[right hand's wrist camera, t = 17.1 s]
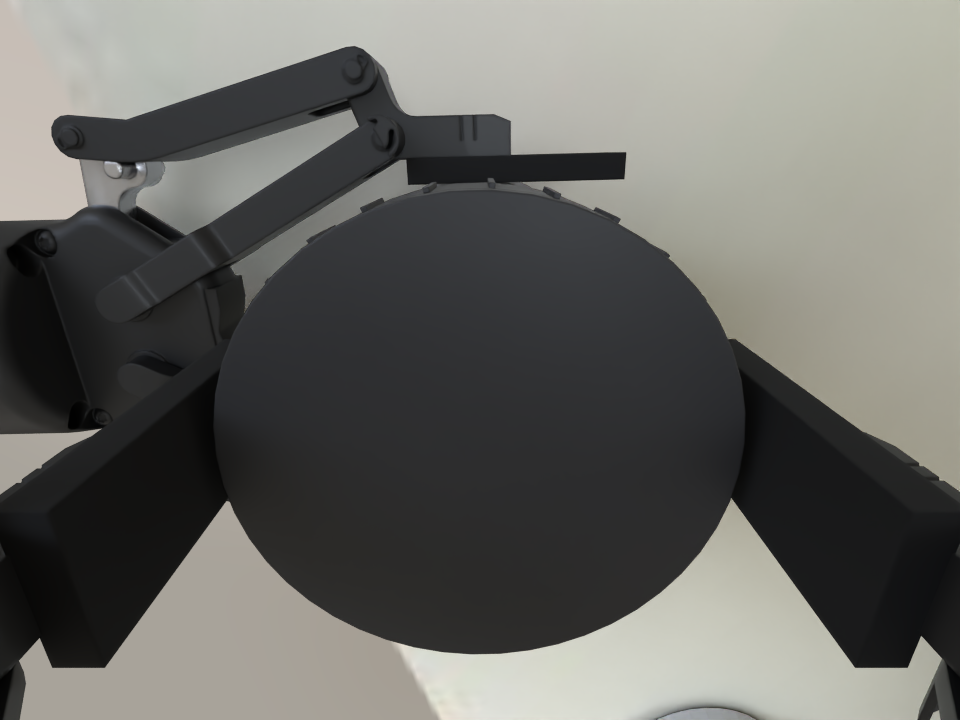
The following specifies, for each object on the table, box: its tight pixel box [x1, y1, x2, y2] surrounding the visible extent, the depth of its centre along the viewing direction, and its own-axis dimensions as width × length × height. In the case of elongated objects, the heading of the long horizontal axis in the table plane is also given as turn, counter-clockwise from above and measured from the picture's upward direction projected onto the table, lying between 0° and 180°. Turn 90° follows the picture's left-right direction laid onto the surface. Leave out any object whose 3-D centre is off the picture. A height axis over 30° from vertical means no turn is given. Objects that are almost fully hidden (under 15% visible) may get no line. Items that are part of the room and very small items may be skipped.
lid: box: [213, 178, 746, 654], centre depth 11 cm, size 10×10×2 cm
